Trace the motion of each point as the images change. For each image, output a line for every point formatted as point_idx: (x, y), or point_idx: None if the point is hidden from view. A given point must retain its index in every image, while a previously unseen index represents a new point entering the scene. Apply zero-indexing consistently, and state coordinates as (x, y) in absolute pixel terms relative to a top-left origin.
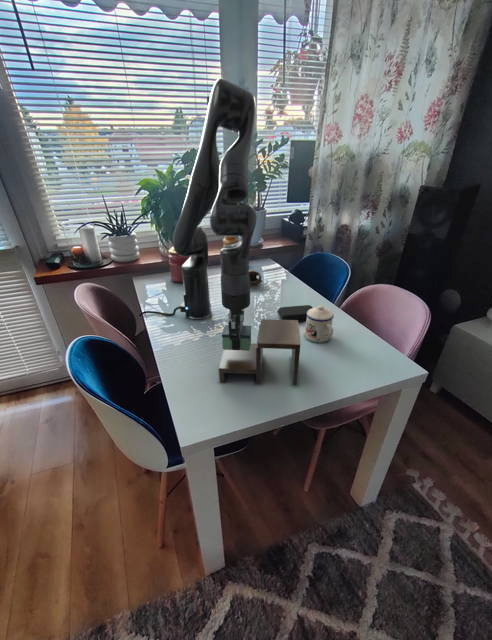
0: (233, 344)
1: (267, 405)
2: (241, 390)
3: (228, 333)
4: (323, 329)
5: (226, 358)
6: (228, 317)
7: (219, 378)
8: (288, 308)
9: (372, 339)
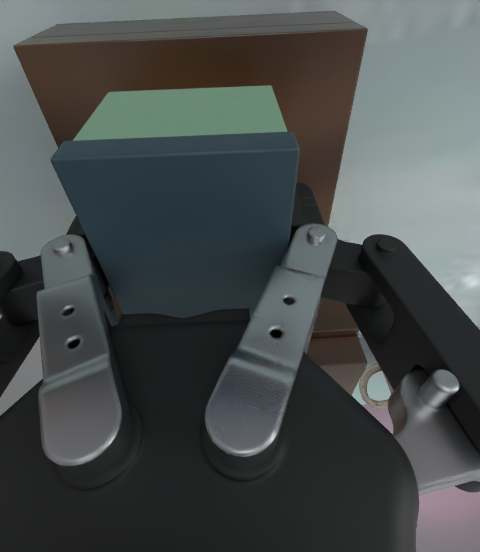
0: (78, 222)
1: (23, 247)
2: (53, 154)
3: (105, 221)
4: (387, 382)
5: (149, 83)
6: (40, 409)
7: (45, 30)
8: None
9: (363, 401)
